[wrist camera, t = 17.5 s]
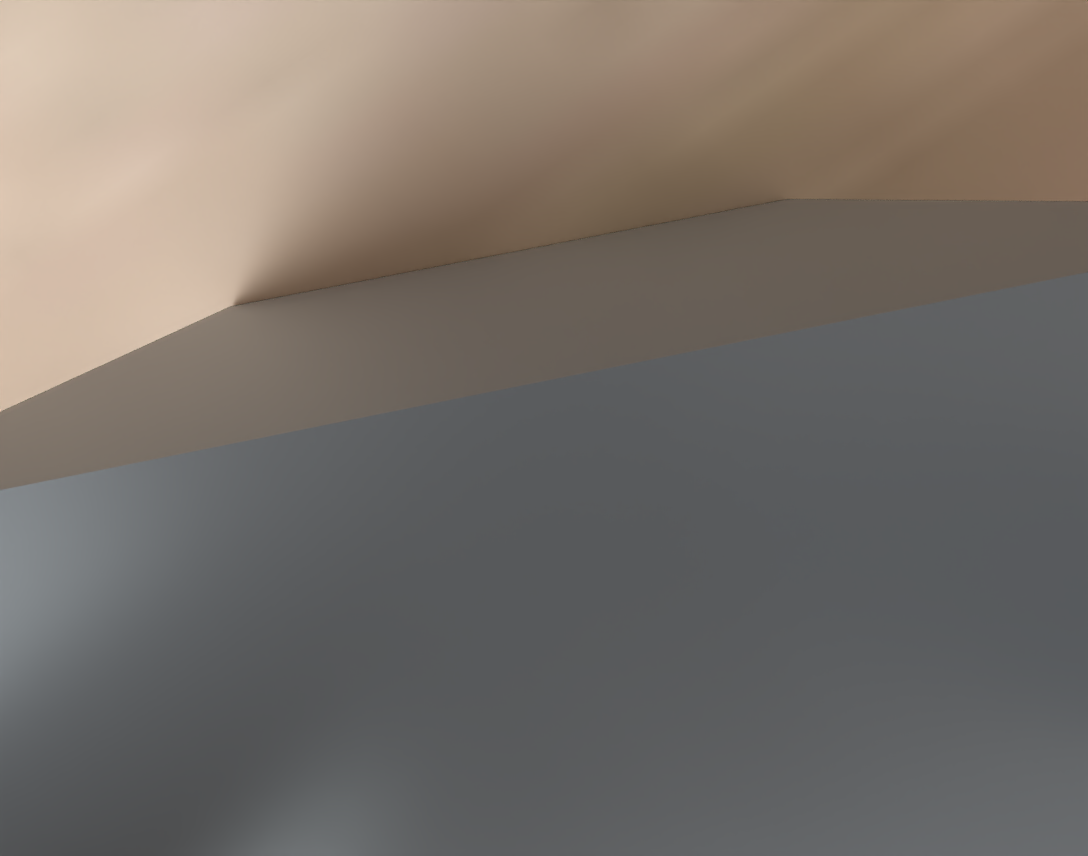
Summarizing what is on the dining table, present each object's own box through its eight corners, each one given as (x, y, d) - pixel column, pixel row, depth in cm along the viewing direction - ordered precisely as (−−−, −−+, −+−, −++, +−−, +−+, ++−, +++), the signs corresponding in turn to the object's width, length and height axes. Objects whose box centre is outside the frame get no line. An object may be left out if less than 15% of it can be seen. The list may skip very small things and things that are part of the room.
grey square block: (812, 654, 16) (1189, 1160, 8) (377, 750, 15) (270, 1394, 7) (788, 199, 12) (1428, 203, 4) (230, 306, 12) (-305, 550, 4)
